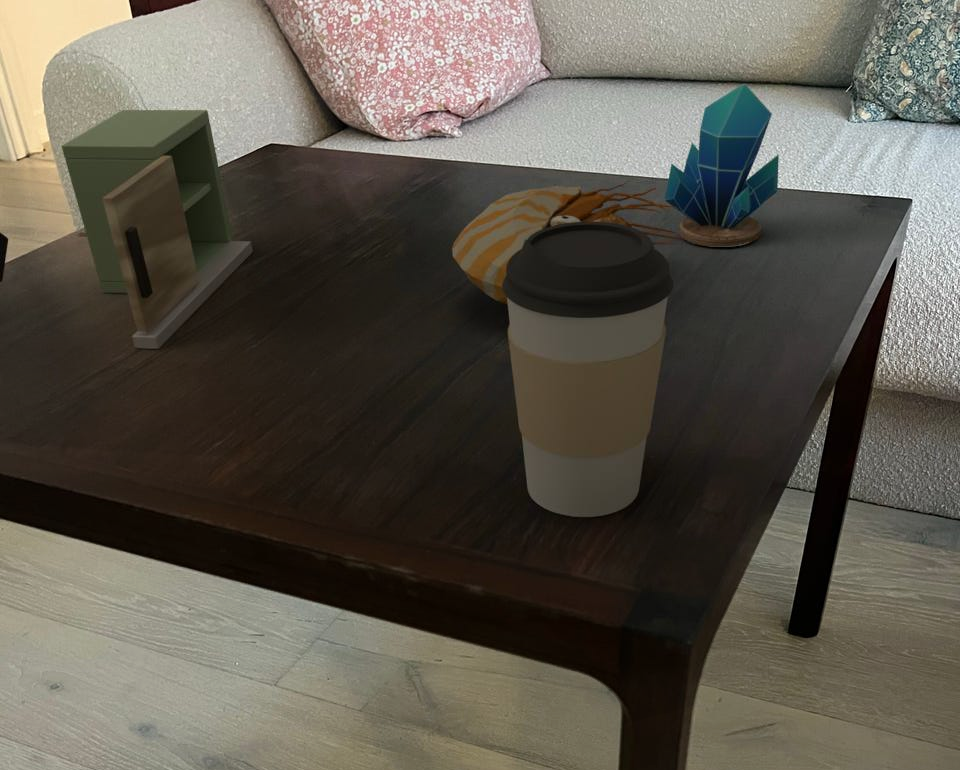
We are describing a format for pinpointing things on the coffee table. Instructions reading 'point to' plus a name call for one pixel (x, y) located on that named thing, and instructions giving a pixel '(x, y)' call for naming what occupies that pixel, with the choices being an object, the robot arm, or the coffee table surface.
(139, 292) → the sliding door
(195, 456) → the coffee table surface
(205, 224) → the cabinet
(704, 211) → the gemstone
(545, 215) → the nautilus
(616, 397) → the coffee cup
